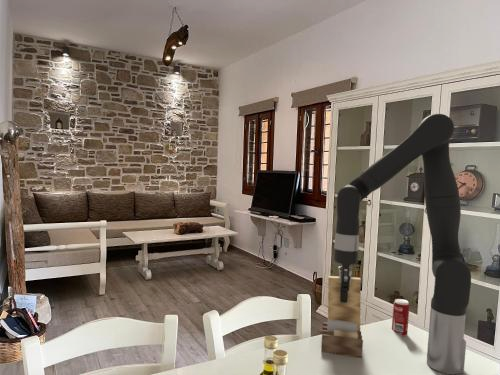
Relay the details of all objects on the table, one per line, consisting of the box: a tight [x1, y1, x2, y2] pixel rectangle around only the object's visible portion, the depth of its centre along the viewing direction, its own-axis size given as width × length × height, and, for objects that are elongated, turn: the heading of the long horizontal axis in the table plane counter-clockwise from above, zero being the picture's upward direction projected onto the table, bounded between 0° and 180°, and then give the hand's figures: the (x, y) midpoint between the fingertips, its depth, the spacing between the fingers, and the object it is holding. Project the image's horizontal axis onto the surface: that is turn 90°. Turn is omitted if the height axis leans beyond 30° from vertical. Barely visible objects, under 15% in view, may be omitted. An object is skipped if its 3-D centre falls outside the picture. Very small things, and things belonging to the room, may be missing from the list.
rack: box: [320, 321, 364, 359], centre depth 118 cm, size 12×11×6 cm
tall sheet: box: [327, 275, 362, 331], centre depth 120 cm, size 10×2×18 cm, turn 78°
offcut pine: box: [334, 330, 358, 339], centre depth 115 cm, size 7×2×6 cm, turn 78°
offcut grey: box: [327, 318, 357, 333], centre depth 118 cm, size 9×2×8 cm, turn 78°
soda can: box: [391, 298, 410, 338], centre depth 133 cm, size 5×5×12 cm
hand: (343, 300), depth 120 cm, fingers closed on tall sheet, 2 cm apart
